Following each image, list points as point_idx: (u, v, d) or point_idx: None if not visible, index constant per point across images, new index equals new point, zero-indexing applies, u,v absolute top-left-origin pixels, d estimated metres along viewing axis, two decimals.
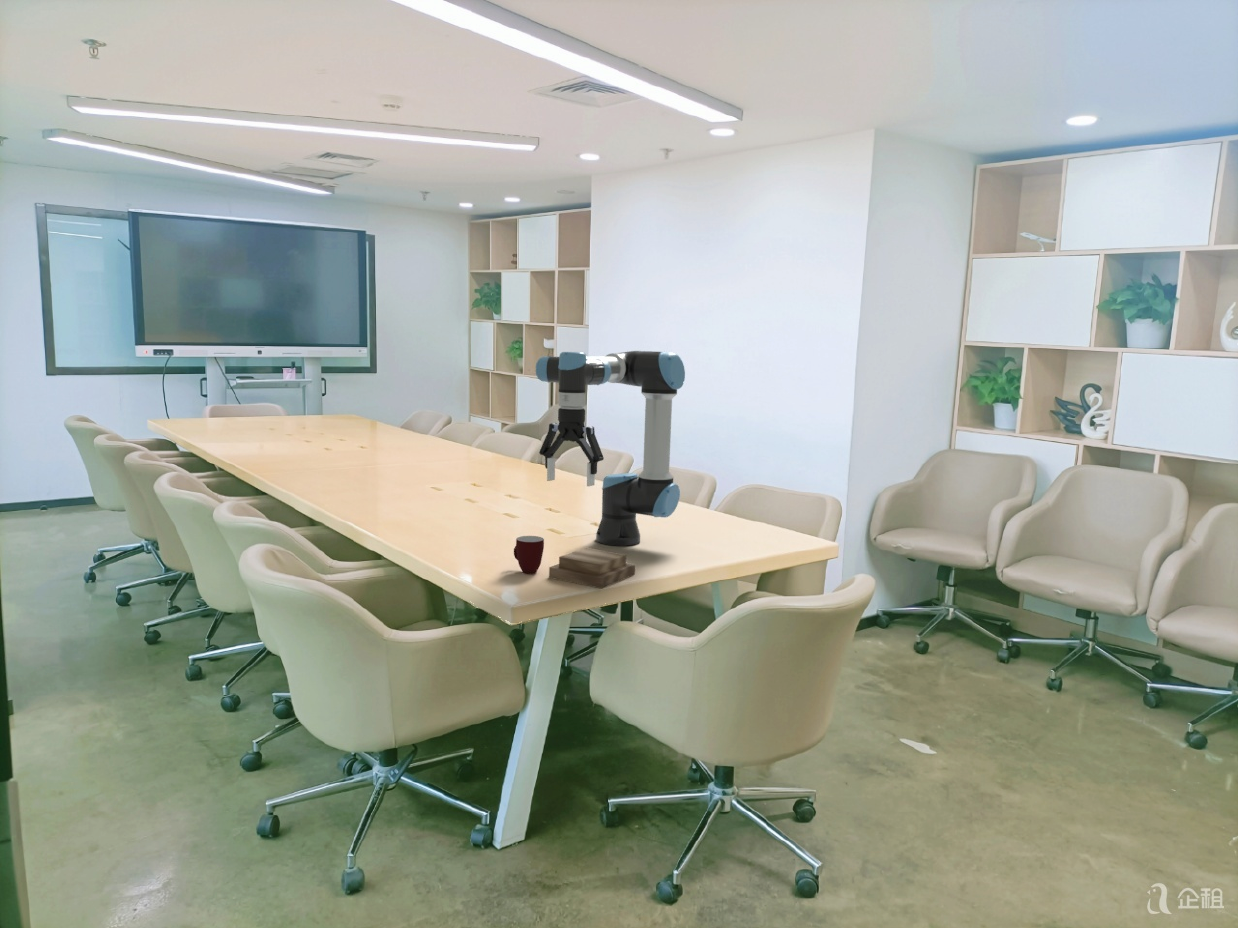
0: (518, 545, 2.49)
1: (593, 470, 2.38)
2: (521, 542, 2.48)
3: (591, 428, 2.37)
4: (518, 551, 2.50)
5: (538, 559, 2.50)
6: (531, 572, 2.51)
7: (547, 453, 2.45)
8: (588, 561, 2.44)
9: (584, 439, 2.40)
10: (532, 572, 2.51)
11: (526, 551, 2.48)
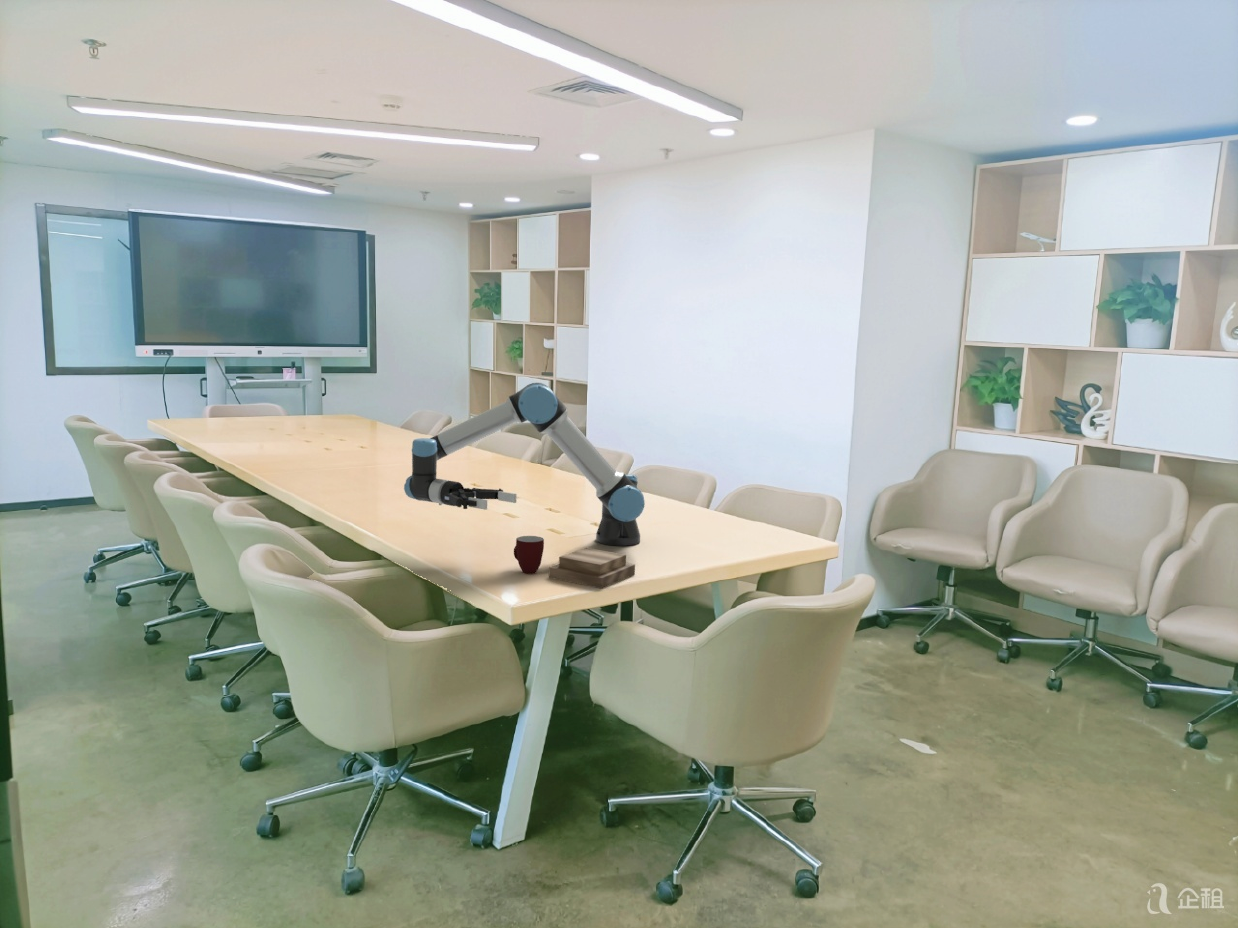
0: (518, 545, 2.49)
1: (471, 505, 2.51)
2: (521, 542, 2.48)
3: (444, 497, 2.58)
4: (518, 551, 2.50)
5: (538, 559, 2.50)
6: (531, 572, 2.51)
7: None
8: (588, 561, 2.44)
9: (460, 496, 2.59)
10: (532, 572, 2.51)
11: (526, 551, 2.48)
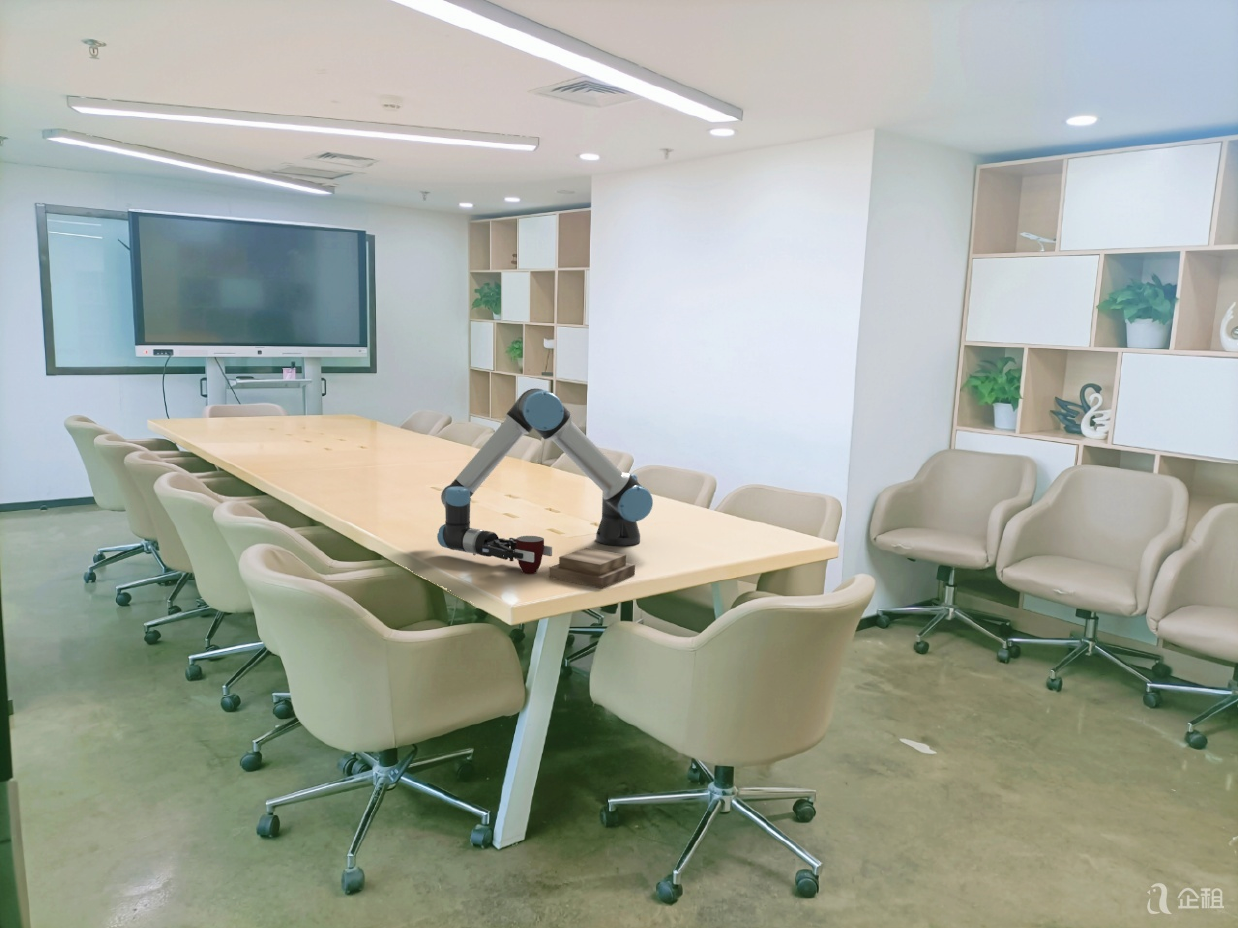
0: (518, 545, 2.49)
1: (518, 558, 2.48)
2: (521, 542, 2.48)
3: (483, 549, 2.53)
4: None
5: (538, 559, 2.50)
6: (531, 572, 2.51)
7: None
8: (588, 561, 2.44)
9: (499, 547, 2.54)
10: (532, 572, 2.51)
11: None
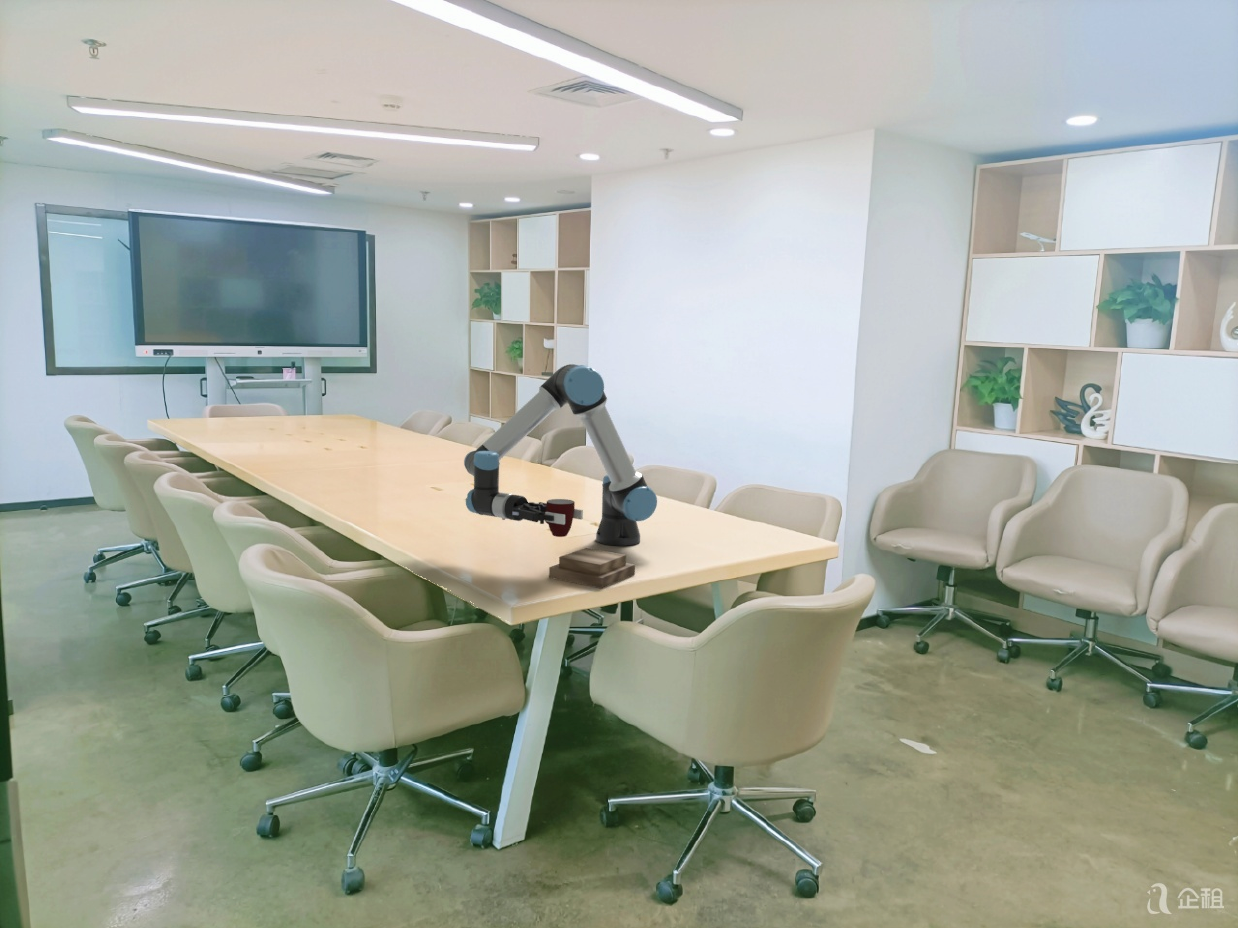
0: (549, 507, 2.46)
1: None
2: (552, 504, 2.45)
3: (512, 513, 2.49)
4: None
5: (569, 522, 2.47)
6: (561, 535, 2.48)
7: None
8: (588, 561, 2.44)
9: (529, 511, 2.51)
10: (562, 535, 2.48)
11: None
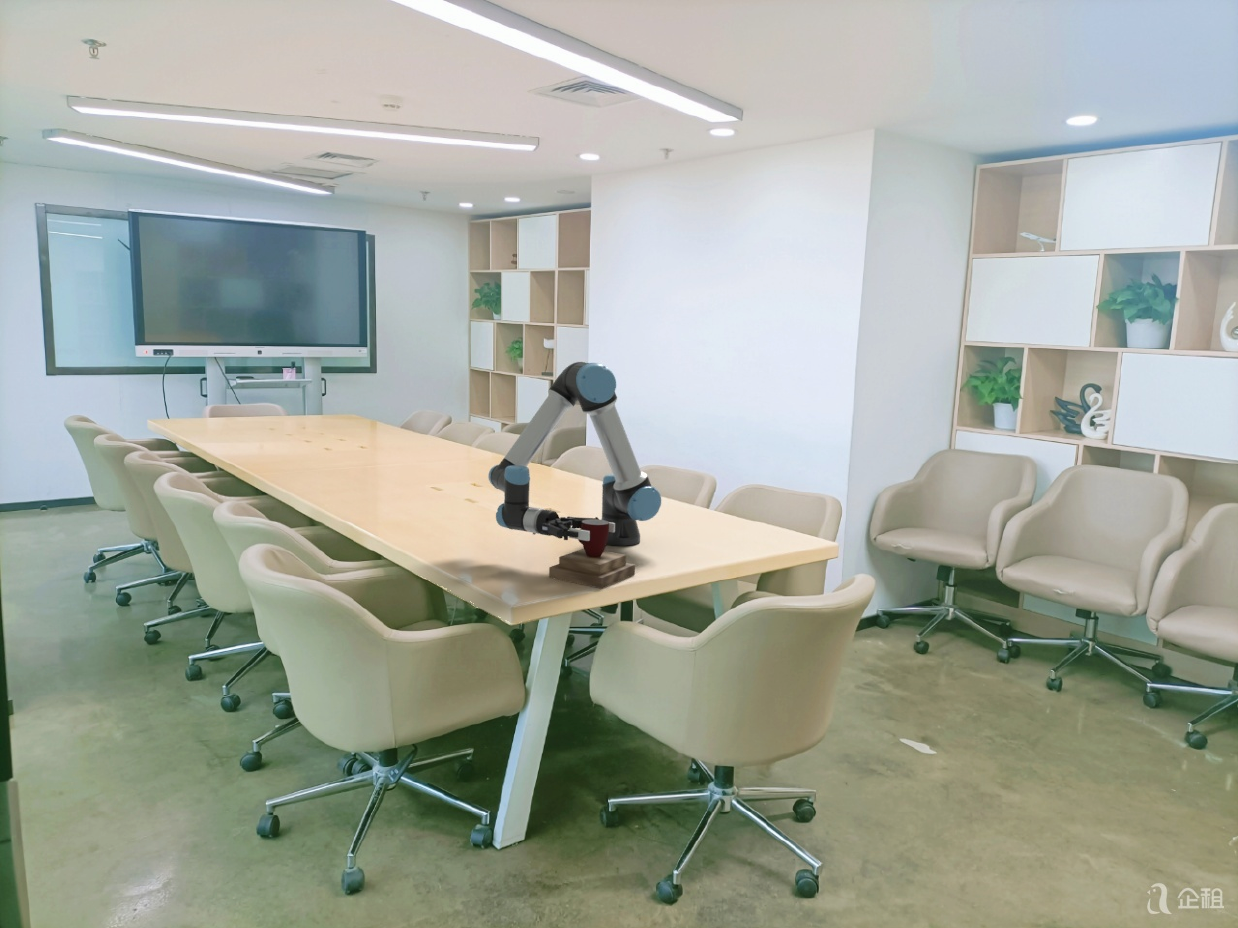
0: (584, 528, 2.47)
1: (573, 536, 2.44)
2: (587, 525, 2.46)
3: (542, 527, 2.50)
4: None
5: (603, 542, 2.48)
6: (596, 555, 2.48)
7: None
8: (588, 561, 2.44)
9: (558, 526, 2.51)
10: (597, 555, 2.49)
11: (592, 534, 2.46)
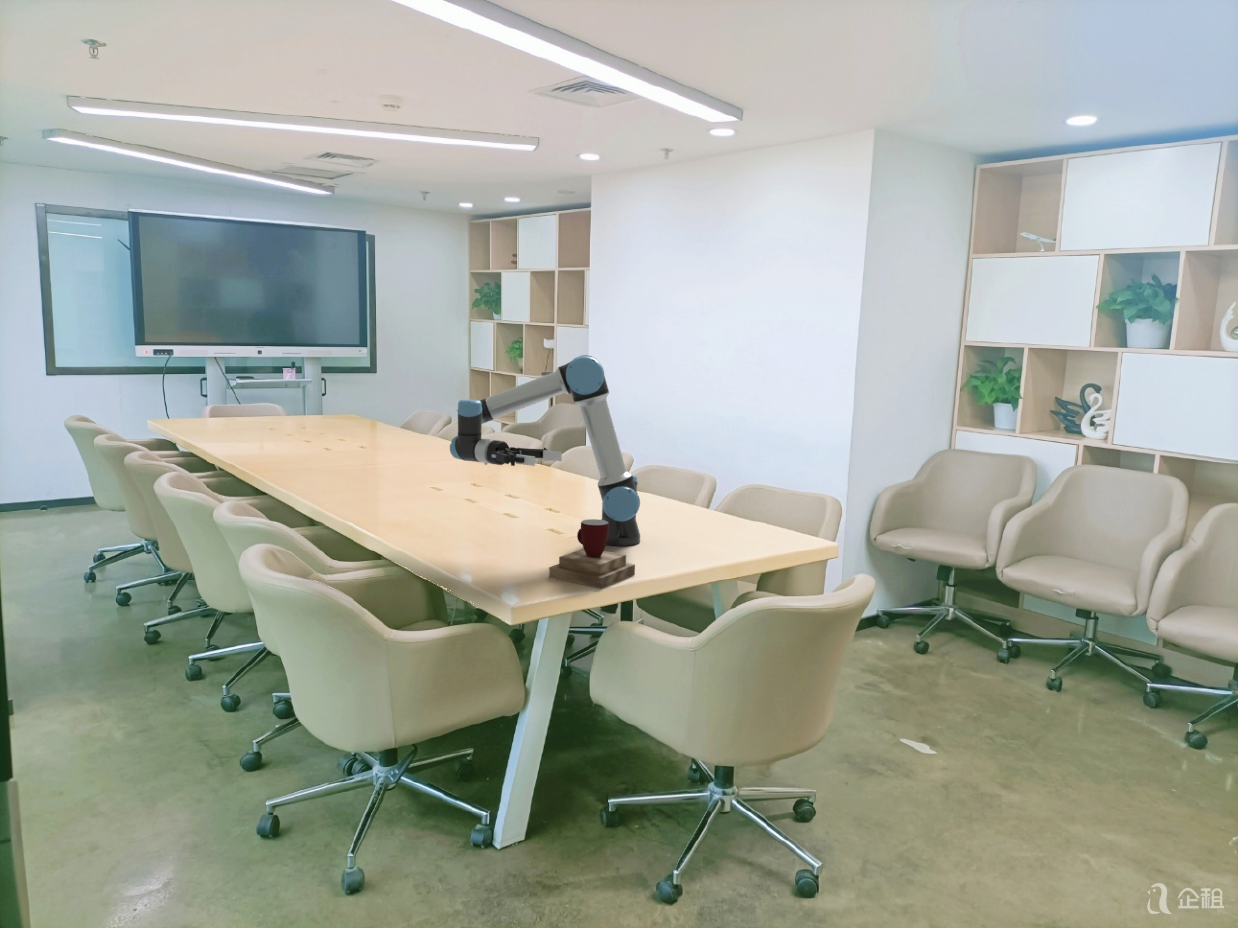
0: (583, 528, 2.47)
1: (519, 462, 2.56)
2: (587, 525, 2.46)
3: (491, 455, 2.63)
4: (583, 534, 2.47)
5: (603, 542, 2.48)
6: (596, 556, 2.48)
7: (541, 457, 2.71)
8: (588, 561, 2.44)
9: (506, 454, 2.63)
10: (597, 556, 2.49)
11: (592, 535, 2.46)
